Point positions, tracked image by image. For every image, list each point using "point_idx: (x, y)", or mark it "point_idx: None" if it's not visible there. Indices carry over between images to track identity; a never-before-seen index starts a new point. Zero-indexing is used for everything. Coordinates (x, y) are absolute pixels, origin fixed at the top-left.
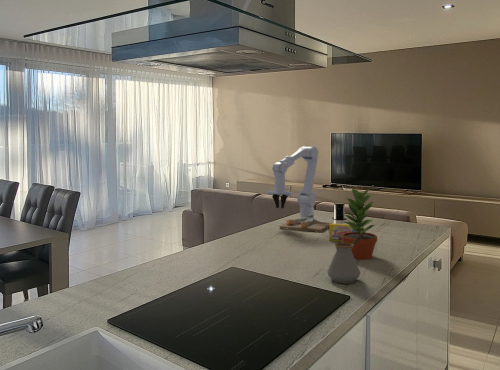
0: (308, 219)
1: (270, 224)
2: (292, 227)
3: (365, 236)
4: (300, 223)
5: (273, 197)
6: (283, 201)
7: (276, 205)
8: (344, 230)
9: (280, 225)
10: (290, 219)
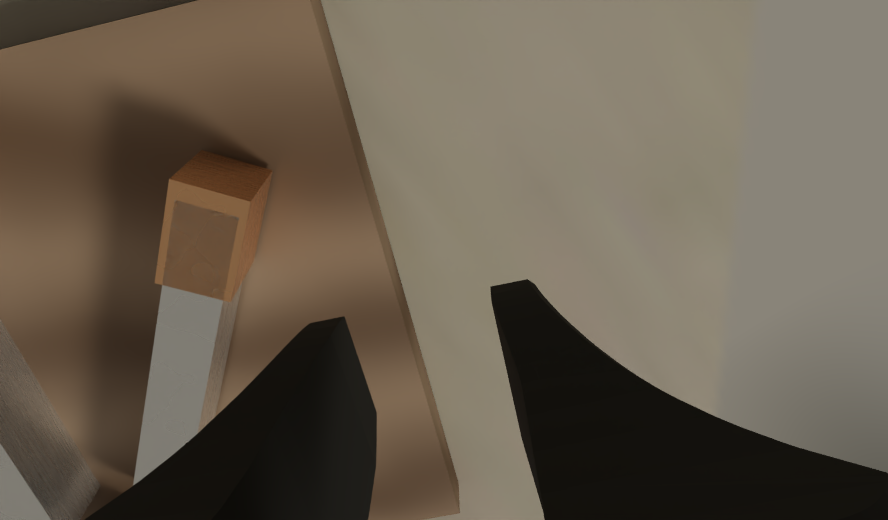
0: (2, 468)
1: (676, 188)
2: (23, 45)
3: None
4: None
5: (774, 489)
6: (133, 494)
7: (521, 309)
8: None
9: (314, 32)
10: (217, 281)
